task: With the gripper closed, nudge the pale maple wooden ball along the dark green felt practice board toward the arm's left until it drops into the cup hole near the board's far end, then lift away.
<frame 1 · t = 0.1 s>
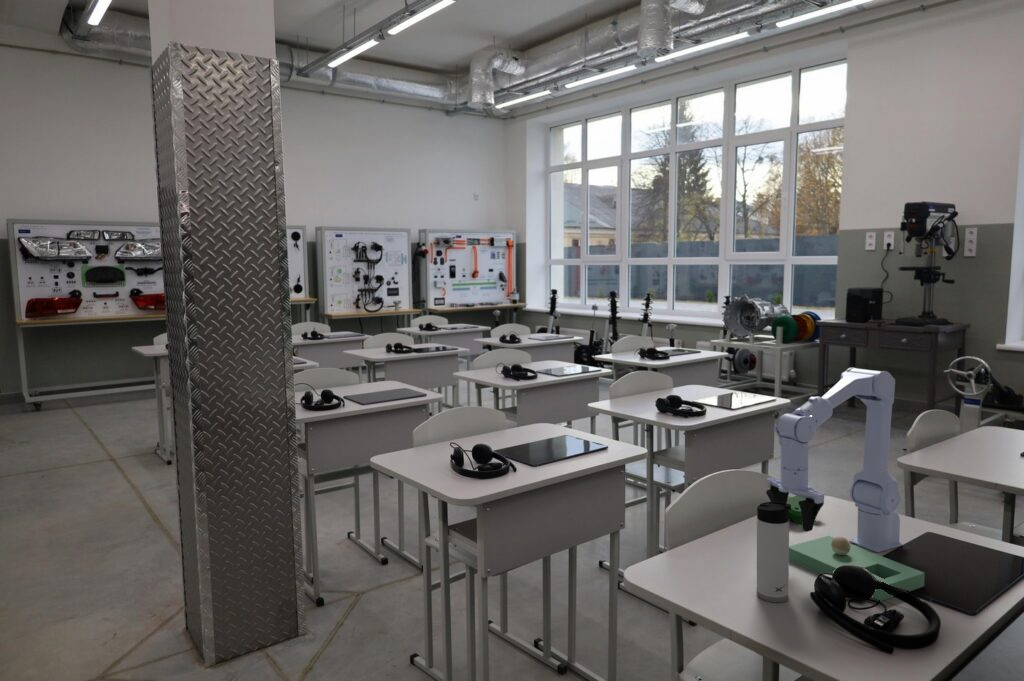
hand: (794, 525, 154), 10 cm above the table, fingers open, 7 cm apart
putting board: (852, 572, 152), on the table
travel mug: (773, 597, 142), on the table
clamp: (798, 521, 185), on the table
maple ball: (840, 545, 154), point 5 cm above the table, touching putting board
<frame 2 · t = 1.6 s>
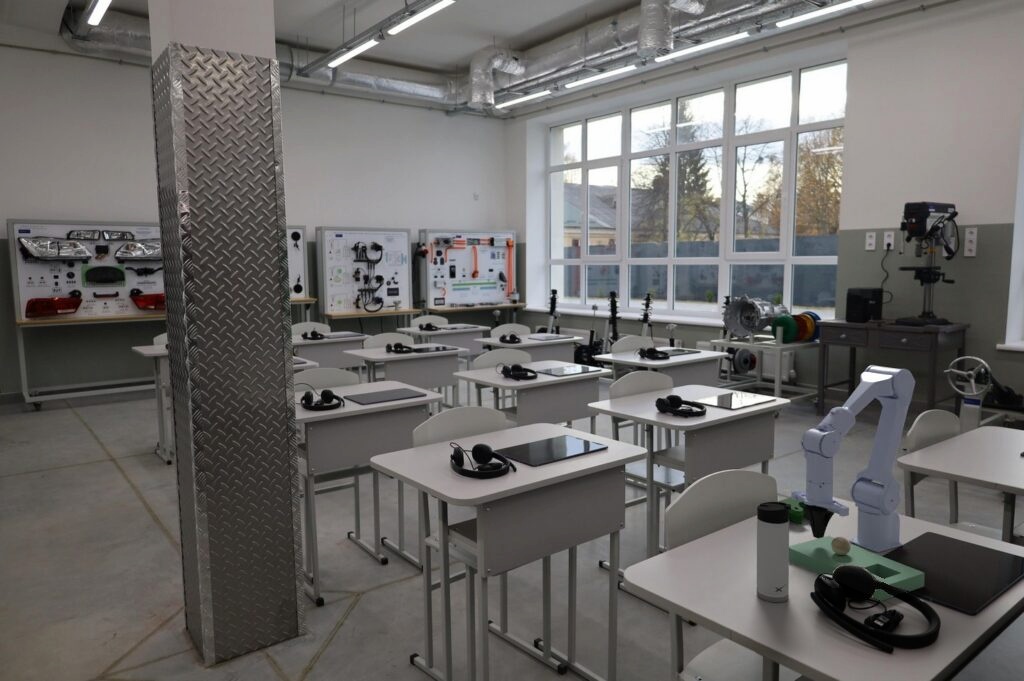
hand: (818, 536, 159), 5 cm above the table, fingers closed
nothing on the table moved.
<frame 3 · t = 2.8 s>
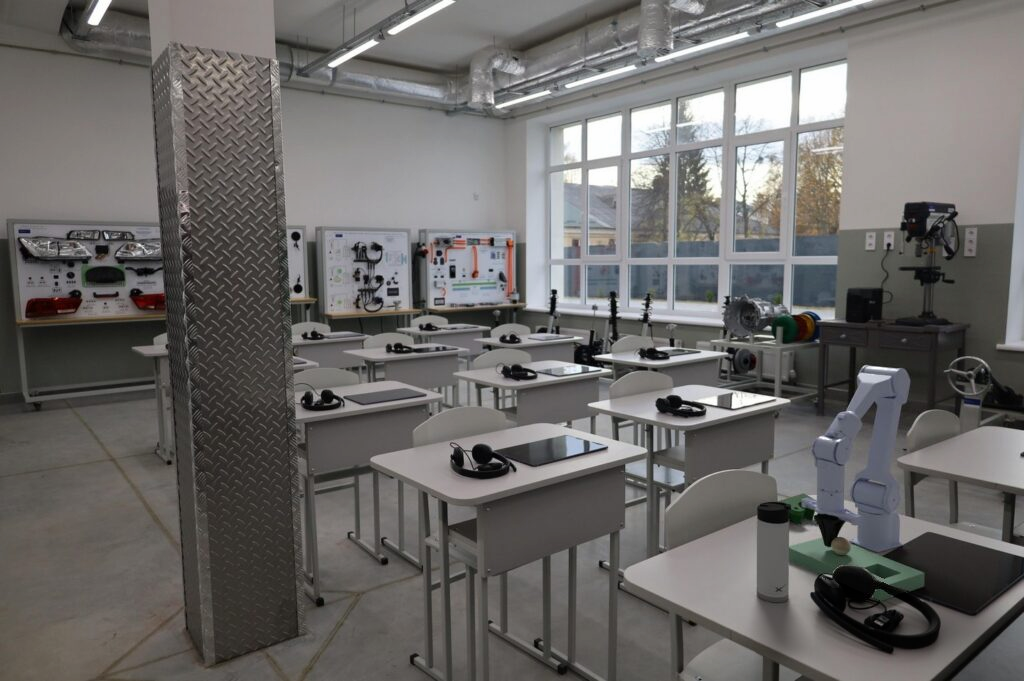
hand: (829, 545, 157), 4 cm above the table, fingers closed, pressing on maple ball
maple ball: (840, 546, 154), point 5 cm above the table, touching gripper, putting board
everything else where it was.
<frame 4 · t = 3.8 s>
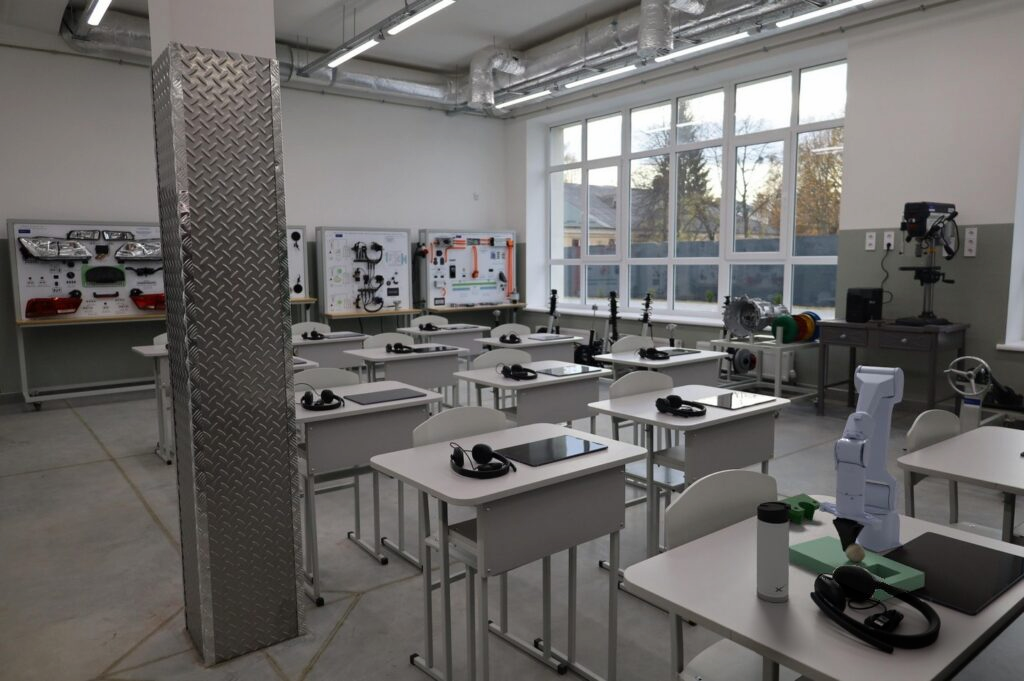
hand: (848, 551, 151), 5 cm above the table, fingers closed, pressing on maple ball
maple ball: (855, 552, 150), point 5 cm above the table, tilted 117°, touching gripper, putting board
everything else where it was.
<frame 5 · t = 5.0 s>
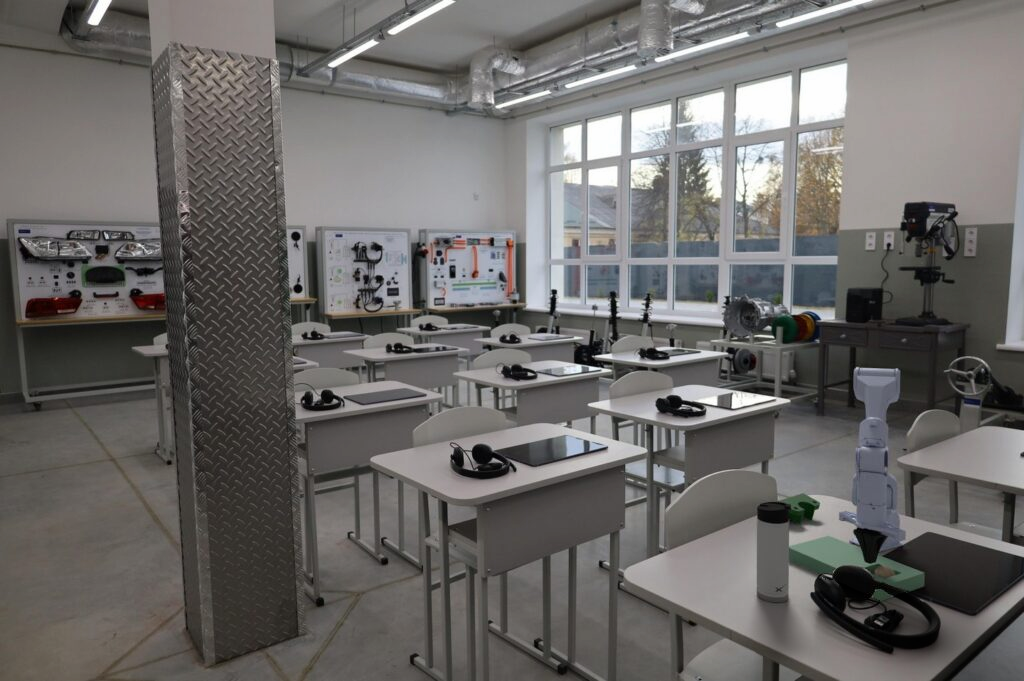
hand: (870, 562, 147), 4 cm above the table, fingers closed
maple ball: (884, 575, 145), point 2 cm above the table, tilted 40°, touching putting board
everything else where it was.
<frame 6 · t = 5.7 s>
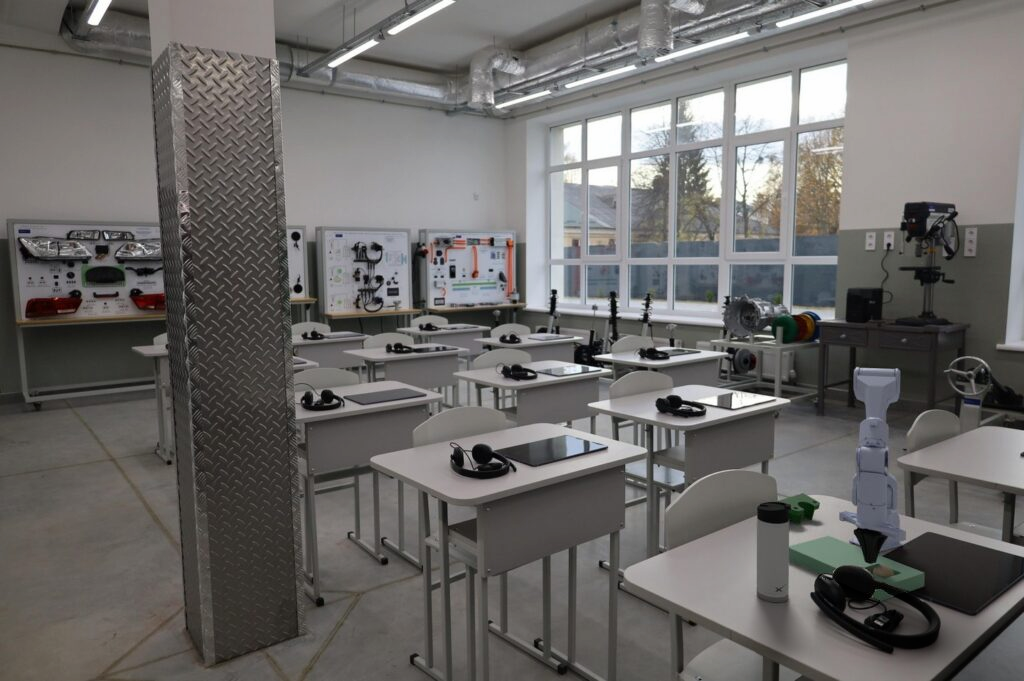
hand: (870, 562, 147), 4 cm above the table, fingers closed
maple ball: (883, 574, 145), point 2 cm above the table, tilted 30°, touching putting board
everything else where it was.
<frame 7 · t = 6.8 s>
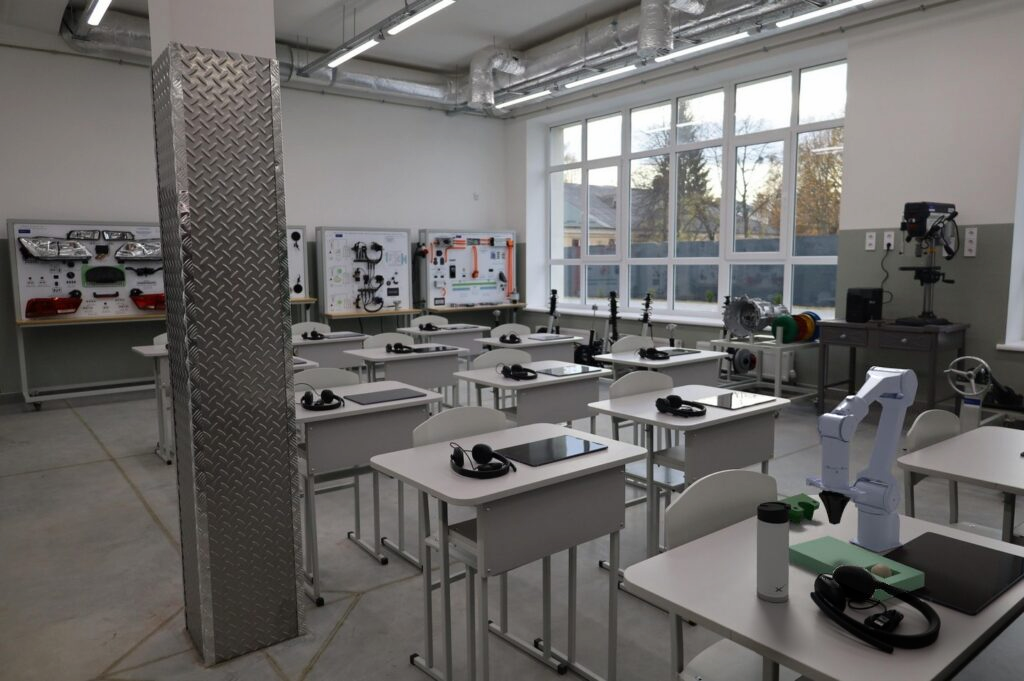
hand: (834, 523, 156), 9 cm above the table, fingers closed
maple ball: (881, 573, 146), point 2 cm above the table, tilted 16°, touching putting board
everything else where it was.
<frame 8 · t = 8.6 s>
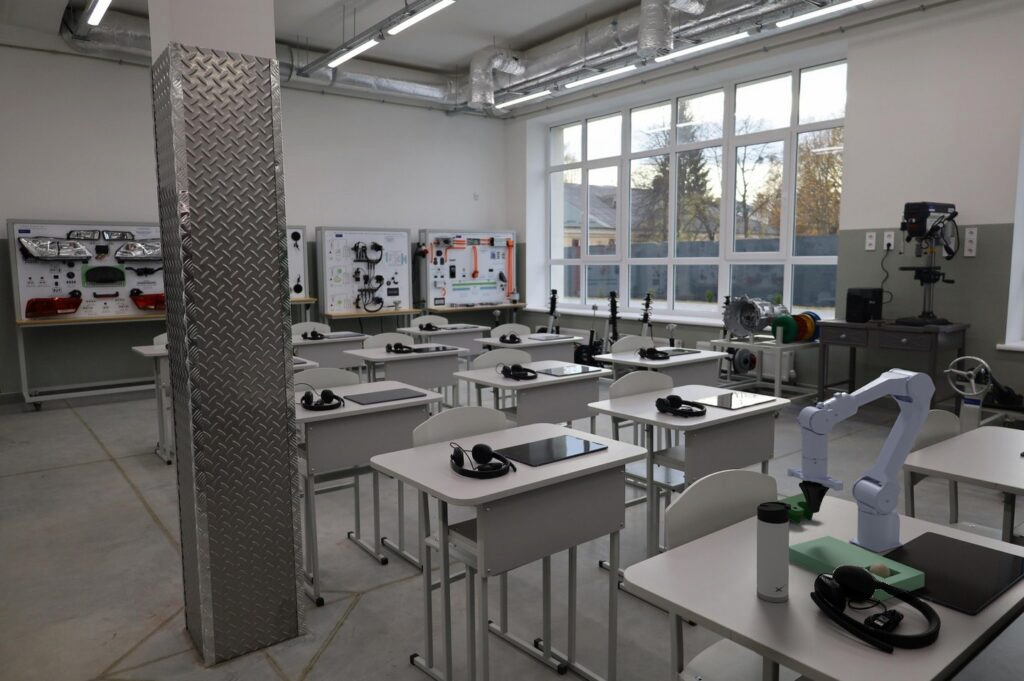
hand: (813, 511, 164), 9 cm above the table, fingers closed
maple ball: (879, 572, 146), point 2 cm above the table, tilted 11°, touching putting board
everything else where it was.
at the end: maple ball 0.9 cm from the target spot on the putting board, point 2.2 cm above the putting board's base; maple ball point 2.2 cm above the table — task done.
